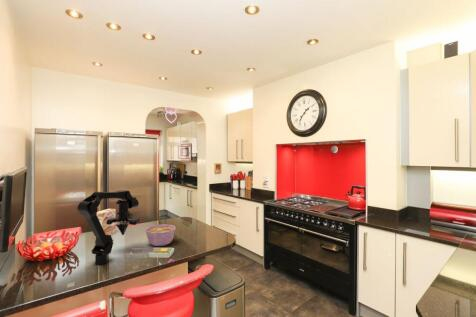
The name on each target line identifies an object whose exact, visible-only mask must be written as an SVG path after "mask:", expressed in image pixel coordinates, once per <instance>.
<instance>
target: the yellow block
mask: <svg viewBox="0 0 476 317" xmlns="http://www.w3.org/2000/svg"><path fill="white" fill-rule="evenodd" d="M161 248H162V249H161V250H160V253H169V252H168V248H169V247H161Z"/></svg>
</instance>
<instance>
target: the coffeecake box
mask: <svg viewBox="0 0 476 317" xmlns="http://www.w3.org/2000/svg"><path fill="white" fill-rule="evenodd" d="M116 210H117V209H116V208H107V209H102V210H100V211H97V217H98V219H99V221H100V223H101V225H102V228H103V230H104V232H105V234H106V235H111V236H112V235H114V234H116V226H115V225H116V223H112V224H106V223H107V220H108V219H110V218H117V217H116V216H117V215H116V212H117V211H116ZM93 238H94V239H96V237H95V235H94V234H93Z"/></svg>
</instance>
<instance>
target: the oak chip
mask: <svg viewBox="0 0 476 317" xmlns="http://www.w3.org/2000/svg"><path fill="white" fill-rule="evenodd" d="M155 248H156V249H155V250H154V251H153V253H160V250H161V249H160V248H161V247H155Z"/></svg>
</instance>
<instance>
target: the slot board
mask: <svg viewBox="0 0 476 317" xmlns="http://www.w3.org/2000/svg"><path fill="white" fill-rule="evenodd" d="M154 248H155V247H151V248H149V247H148V248H147V247H142V248H141V247H133V248H131V252H129V253H125V254H124V258H125V259H126V258H127V259H133V258H134V259H148V258H149V257H148V253H153V251H154Z"/></svg>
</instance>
